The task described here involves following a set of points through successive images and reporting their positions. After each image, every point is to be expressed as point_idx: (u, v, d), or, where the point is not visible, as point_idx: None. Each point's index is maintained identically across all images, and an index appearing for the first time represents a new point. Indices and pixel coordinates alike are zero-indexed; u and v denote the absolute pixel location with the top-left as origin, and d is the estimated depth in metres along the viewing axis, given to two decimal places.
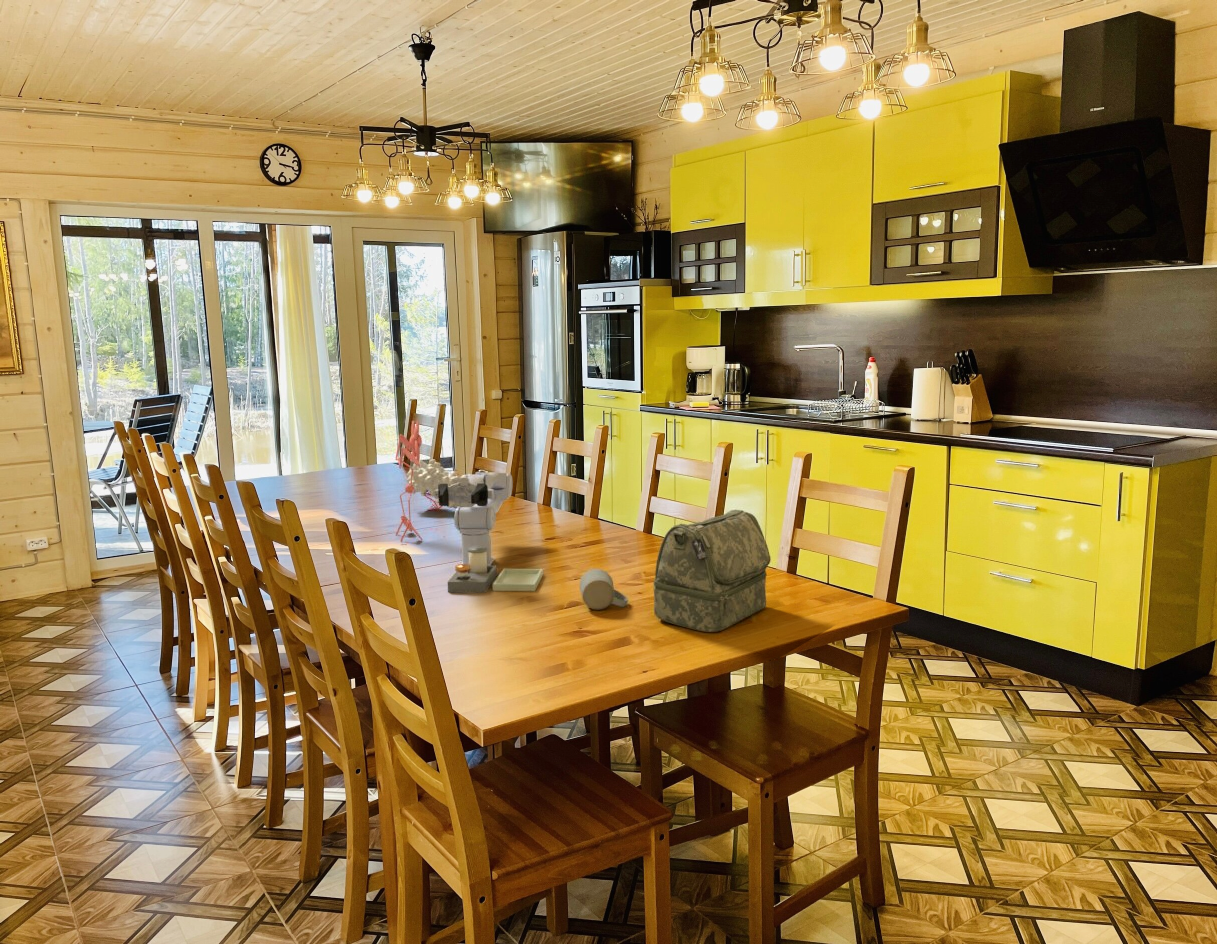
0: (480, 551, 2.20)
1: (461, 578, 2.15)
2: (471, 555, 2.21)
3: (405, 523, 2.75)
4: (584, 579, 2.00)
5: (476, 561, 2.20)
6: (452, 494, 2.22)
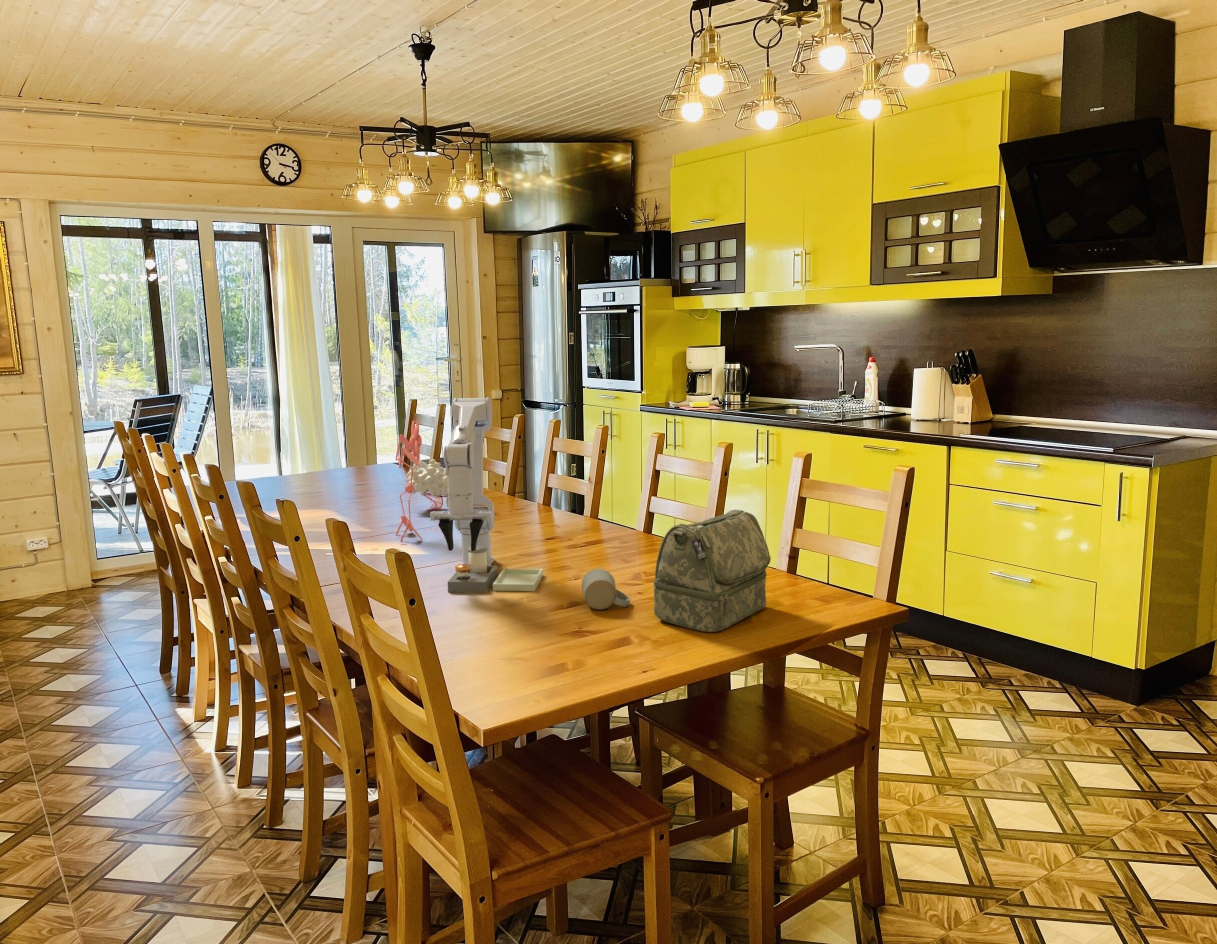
0: (480, 551, 2.20)
1: (461, 578, 2.15)
2: (472, 555, 2.21)
3: (405, 523, 2.75)
4: (586, 579, 2.00)
5: (476, 561, 2.20)
6: (449, 519, 2.14)
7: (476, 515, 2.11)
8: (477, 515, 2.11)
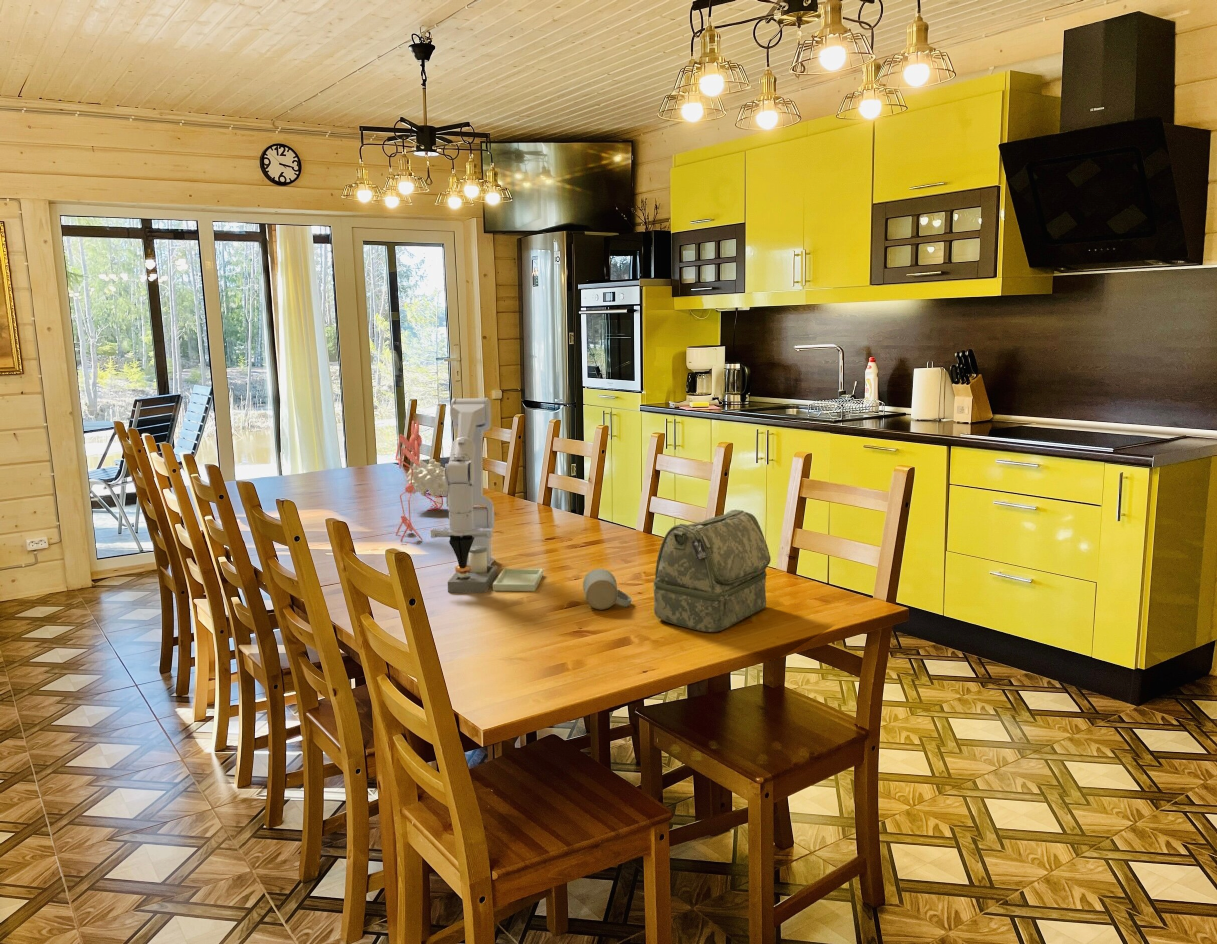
0: (480, 551, 2.20)
1: (461, 579, 2.15)
2: (472, 555, 2.21)
3: (405, 523, 2.75)
4: (587, 579, 2.00)
5: (476, 561, 2.20)
6: None
7: (477, 532, 2.12)
8: (478, 532, 2.12)
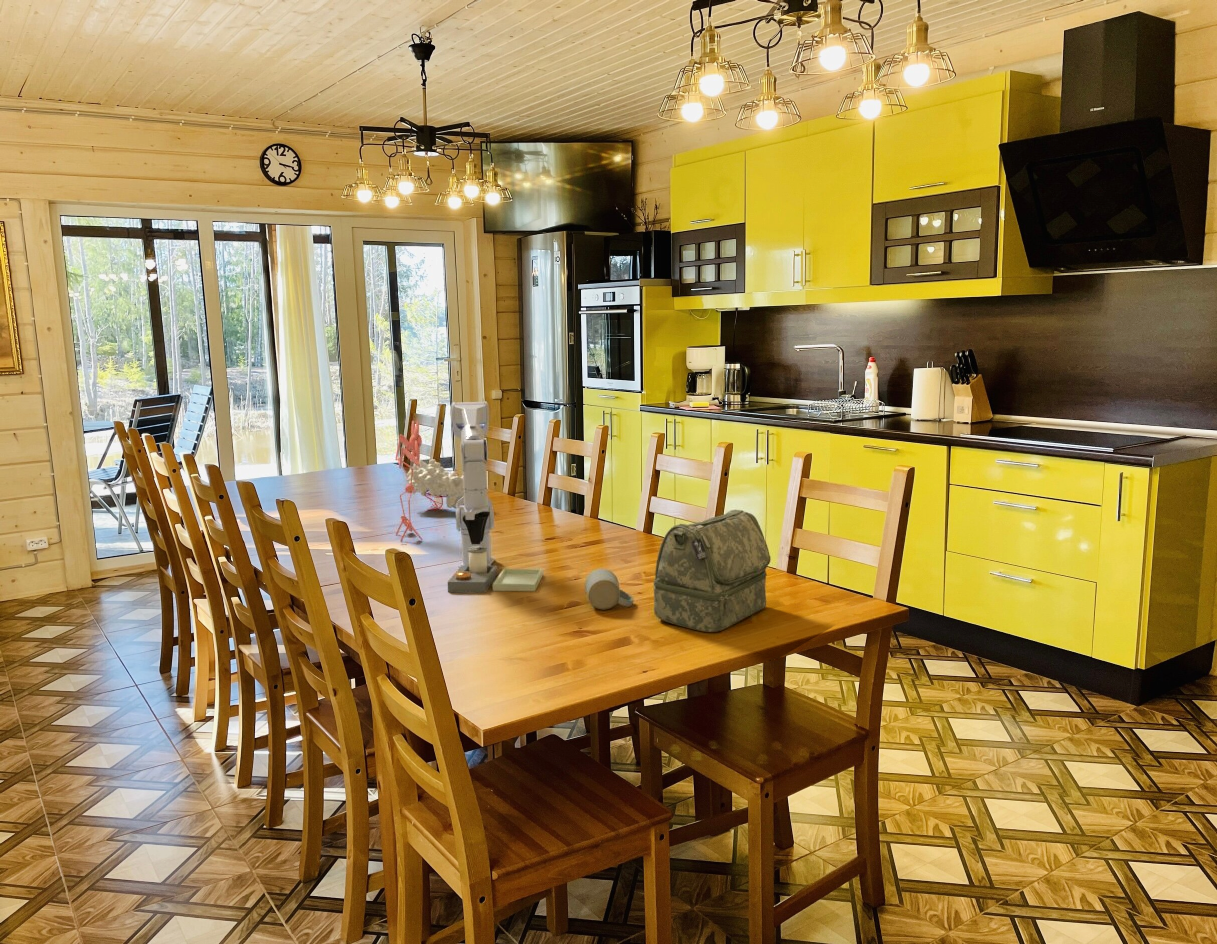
0: (480, 551, 2.20)
1: None
2: (471, 555, 2.21)
3: (405, 523, 2.75)
4: (590, 579, 2.00)
5: (476, 561, 2.20)
6: None
7: (465, 511, 2.17)
8: (465, 511, 2.17)
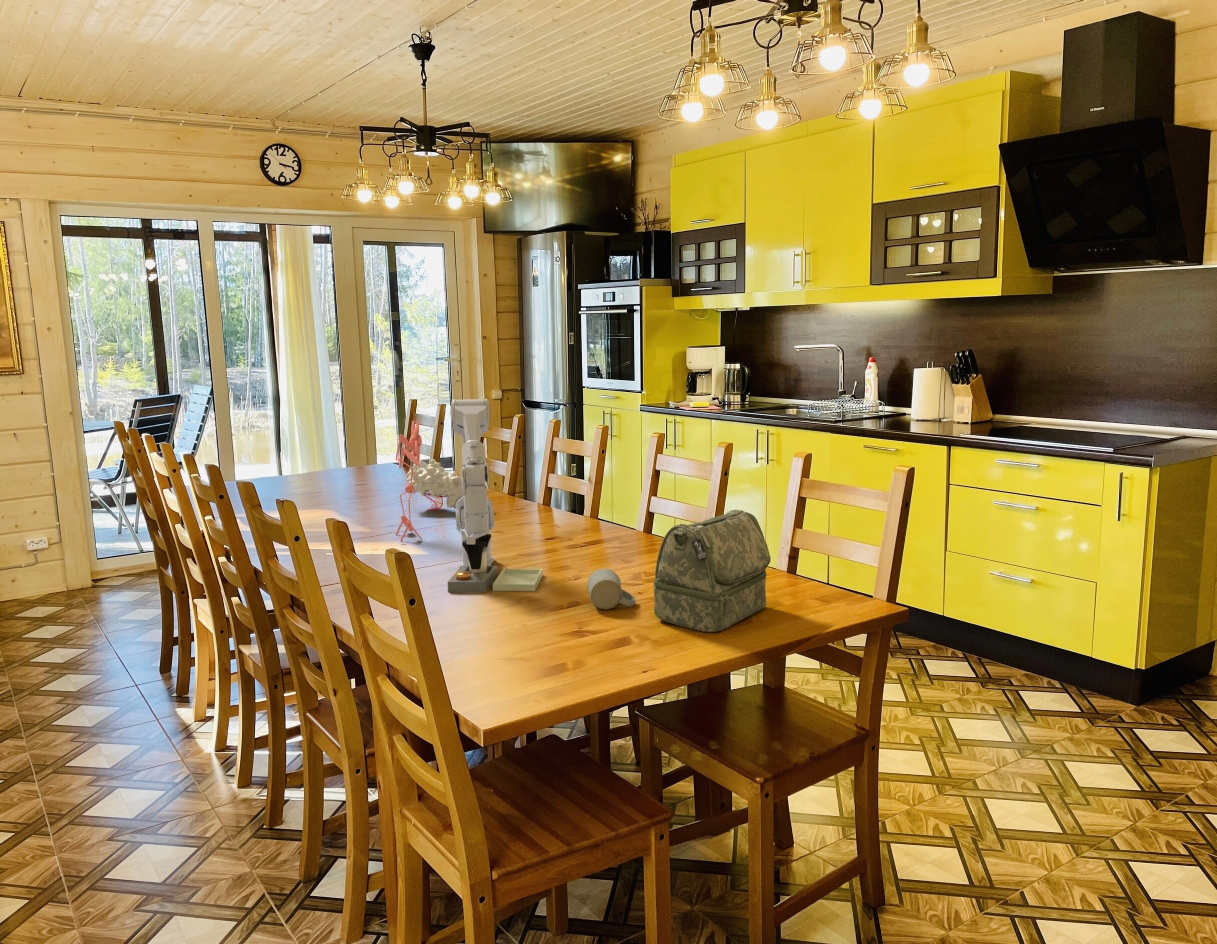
0: None
1: None
2: None
3: (405, 523, 2.75)
4: (592, 579, 2.00)
5: None
6: None
7: (466, 535, 2.18)
8: (466, 535, 2.17)
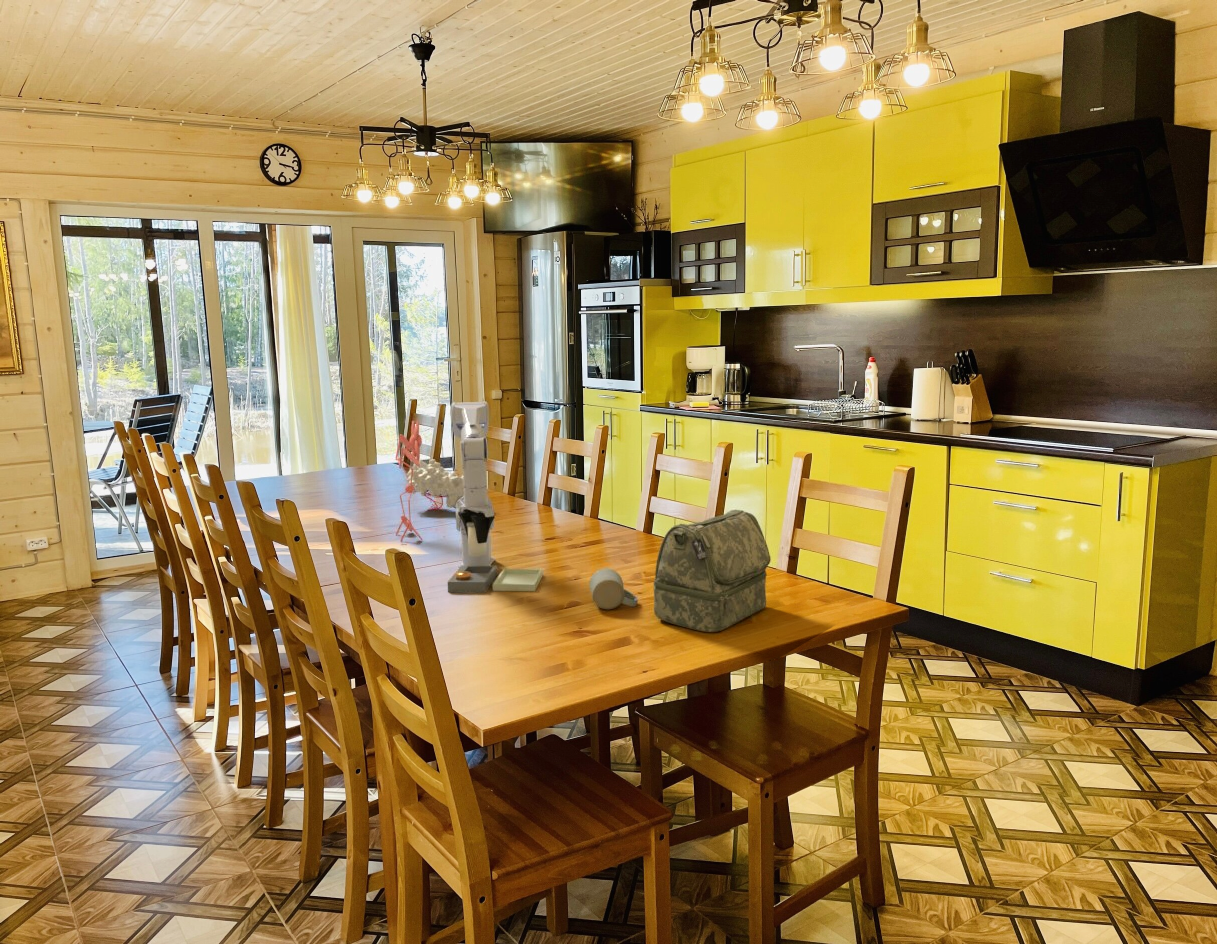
0: None
1: None
2: None
3: (405, 523, 2.75)
4: (594, 579, 2.01)
5: None
6: (470, 510, 2.23)
7: (477, 509, 2.16)
8: (478, 509, 2.16)
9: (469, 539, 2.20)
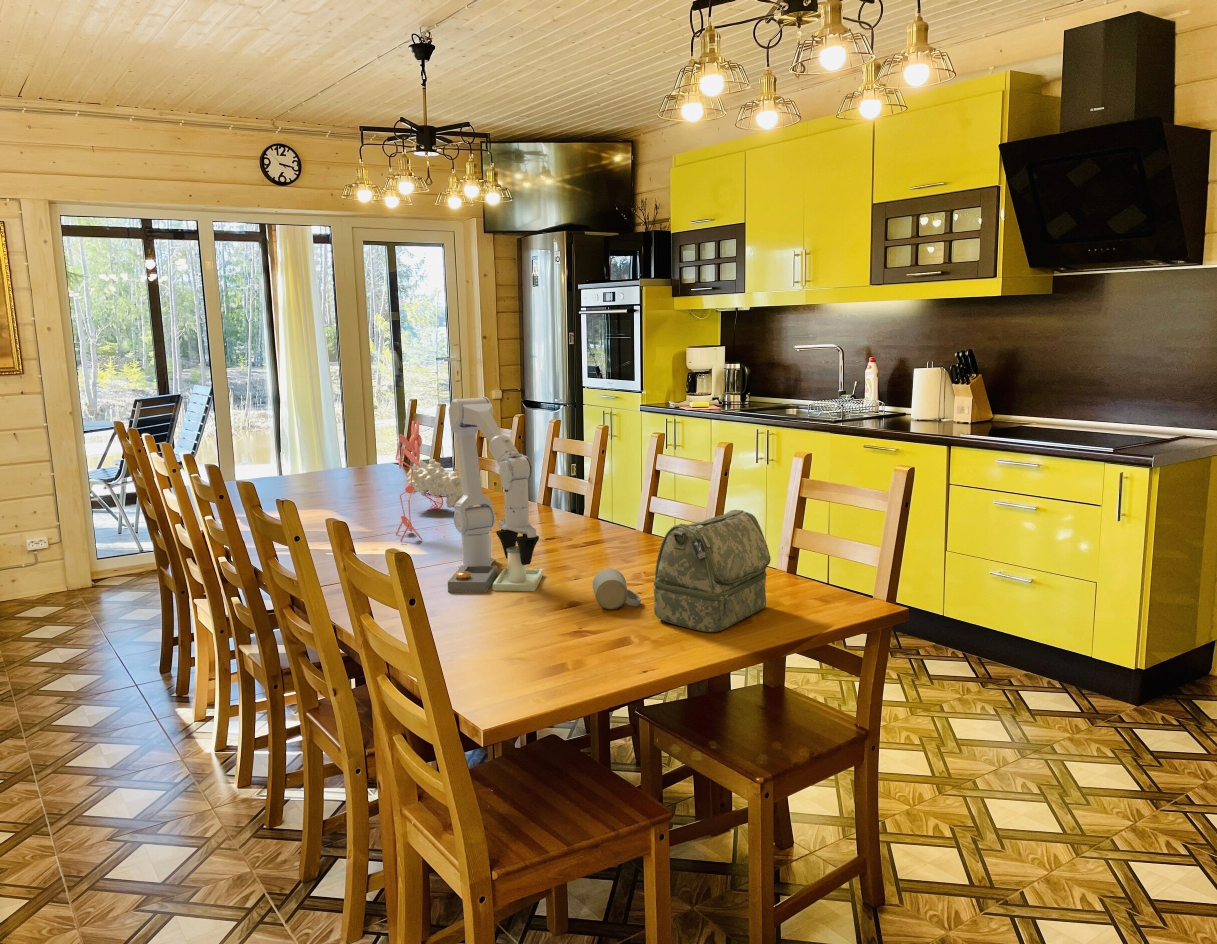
0: None
1: None
2: (516, 556, 2.17)
3: (405, 523, 2.75)
4: (597, 579, 2.01)
5: None
6: None
7: (519, 529, 2.14)
8: (520, 530, 2.14)
9: (509, 565, 2.18)
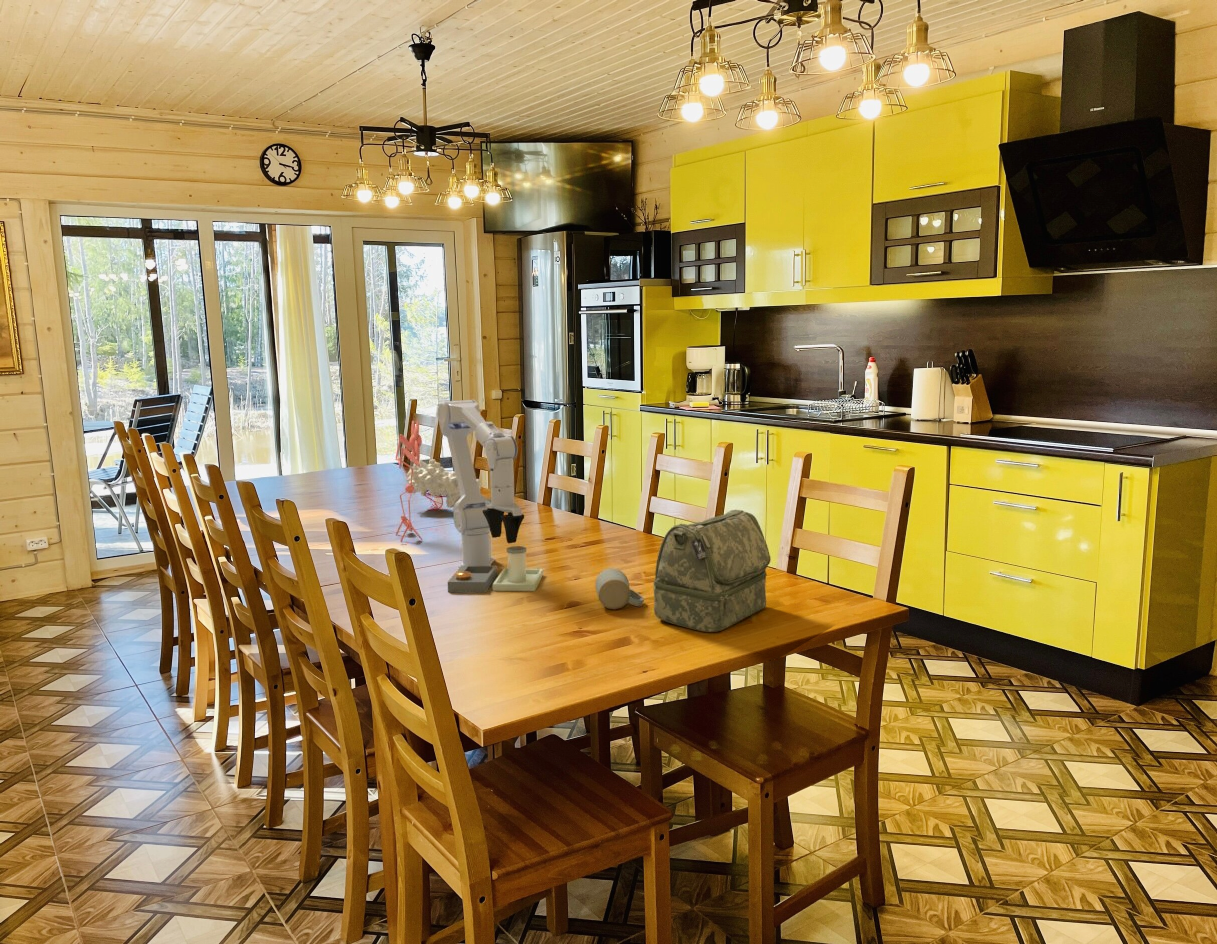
0: (524, 550, 2.18)
1: None
2: (516, 556, 2.17)
3: (405, 523, 2.75)
4: (600, 579, 2.01)
5: (521, 561, 2.18)
6: (497, 509, 2.24)
7: (504, 508, 2.17)
8: (505, 508, 2.17)
9: (509, 565, 2.18)
